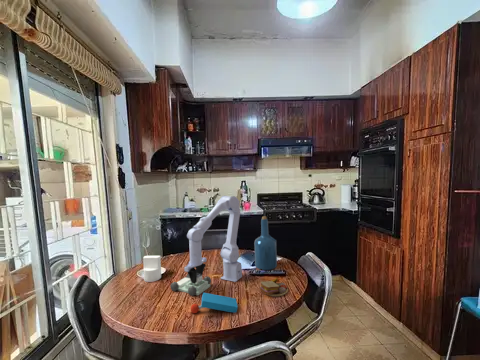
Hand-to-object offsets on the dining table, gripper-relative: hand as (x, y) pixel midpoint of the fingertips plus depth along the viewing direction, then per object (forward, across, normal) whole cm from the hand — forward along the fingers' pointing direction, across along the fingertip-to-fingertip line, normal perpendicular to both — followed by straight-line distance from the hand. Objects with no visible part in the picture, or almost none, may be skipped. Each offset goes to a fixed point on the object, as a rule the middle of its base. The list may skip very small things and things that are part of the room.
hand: (196, 281), depth 115 cm
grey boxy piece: (+2, 0, 0) cm, 2 cm away
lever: (+4, +12, +18) cm, 22 cm away
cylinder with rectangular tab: (+4, 0, -31) cm, 31 cm away
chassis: (+4, 0, -4) cm, 5 cm away
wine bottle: (+4, -40, +20) cm, 45 cm away
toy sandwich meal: (+4, -13, +35) cm, 38 cm away
